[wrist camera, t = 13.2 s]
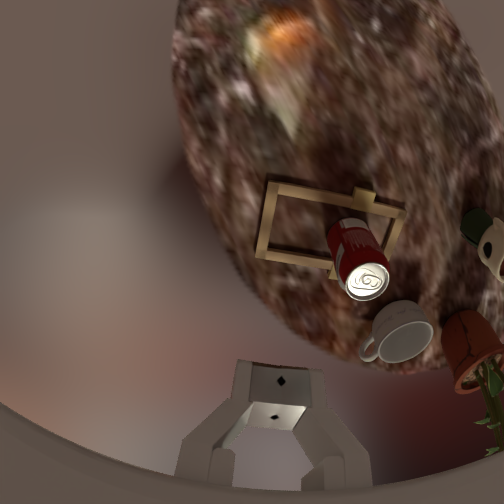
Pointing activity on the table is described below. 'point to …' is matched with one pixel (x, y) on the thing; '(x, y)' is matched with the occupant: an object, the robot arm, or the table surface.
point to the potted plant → (476, 363)
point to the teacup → (398, 333)
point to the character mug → (486, 239)
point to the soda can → (358, 259)
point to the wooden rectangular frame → (357, 201)
